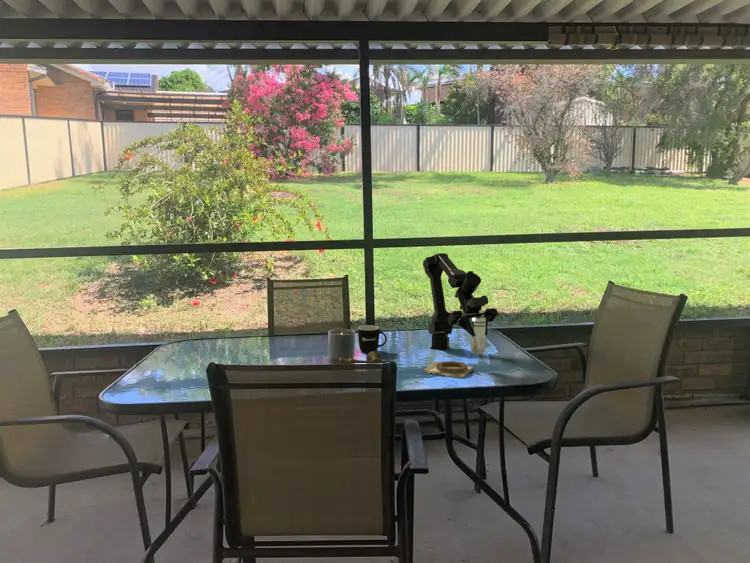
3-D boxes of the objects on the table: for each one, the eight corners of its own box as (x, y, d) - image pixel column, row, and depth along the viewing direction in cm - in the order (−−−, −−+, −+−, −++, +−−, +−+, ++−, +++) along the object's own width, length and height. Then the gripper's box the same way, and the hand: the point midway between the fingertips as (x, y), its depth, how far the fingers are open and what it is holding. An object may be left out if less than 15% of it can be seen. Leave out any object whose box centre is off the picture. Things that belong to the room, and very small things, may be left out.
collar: (423, 372, 220) (423, 366, 219) (435, 364, 230) (435, 357, 230) (462, 378, 213) (462, 371, 213) (472, 369, 224) (473, 362, 223)
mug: (357, 354, 244) (357, 330, 243) (358, 348, 253) (357, 325, 251) (387, 354, 244) (387, 330, 243) (386, 348, 253) (386, 325, 252)
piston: (468, 352, 221) (469, 318, 219) (473, 349, 225) (474, 315, 223) (482, 354, 218) (483, 319, 216) (486, 351, 223) (488, 317, 221)
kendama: (338, 367, 228) (390, 364, 230) (339, 376, 218) (394, 373, 220) (338, 352, 227) (390, 349, 229) (339, 360, 217) (393, 357, 219)
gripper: (451, 289, 219) (464, 325, 210) (496, 287, 225) (511, 321, 216) (442, 306, 228) (454, 342, 219) (485, 303, 234) (499, 337, 225)
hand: (480, 335), depth 220 cm, fingers closed on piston, 5 cm apart
